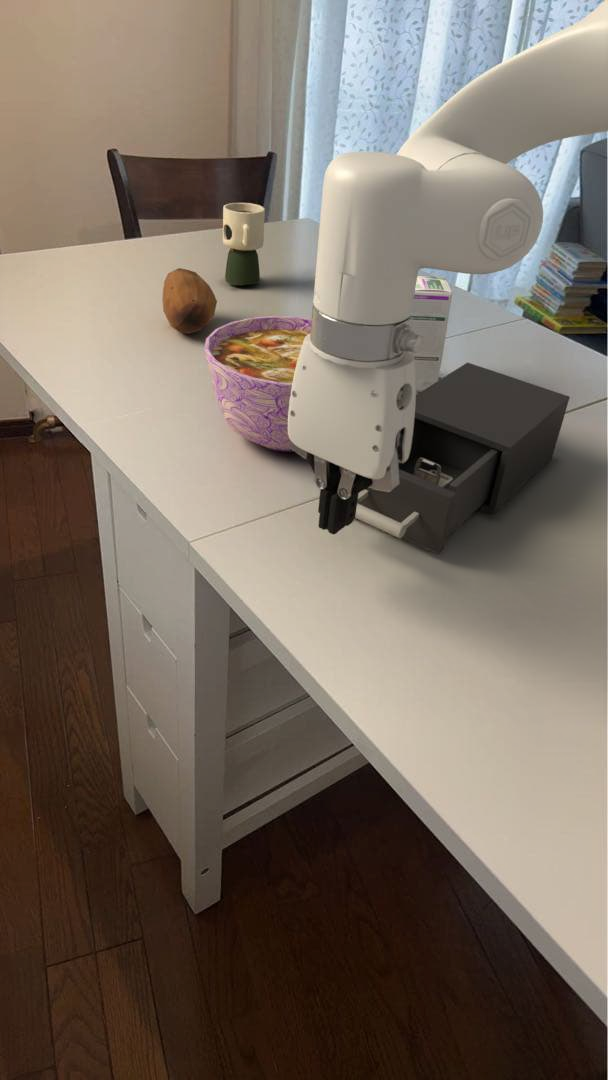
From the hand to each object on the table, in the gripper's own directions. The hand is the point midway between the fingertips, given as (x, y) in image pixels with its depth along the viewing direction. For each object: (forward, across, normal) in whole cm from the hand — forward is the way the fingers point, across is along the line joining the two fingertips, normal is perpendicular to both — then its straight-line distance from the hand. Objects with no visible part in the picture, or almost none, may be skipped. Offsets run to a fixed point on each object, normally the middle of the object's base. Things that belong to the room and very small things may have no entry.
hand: (335, 524), depth 72 cm
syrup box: (+7, +17, -45) cm, 49 cm away
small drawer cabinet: (+7, 0, -30) cm, 31 cm away
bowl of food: (+7, +21, -20) cm, 30 cm away
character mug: (+7, +61, -59) cm, 85 cm away
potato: (+7, +53, -37) cm, 65 cm away
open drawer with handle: (+6, 0, -16) cm, 17 cm away
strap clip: (+5, 0, -17) cm, 18 cm away
